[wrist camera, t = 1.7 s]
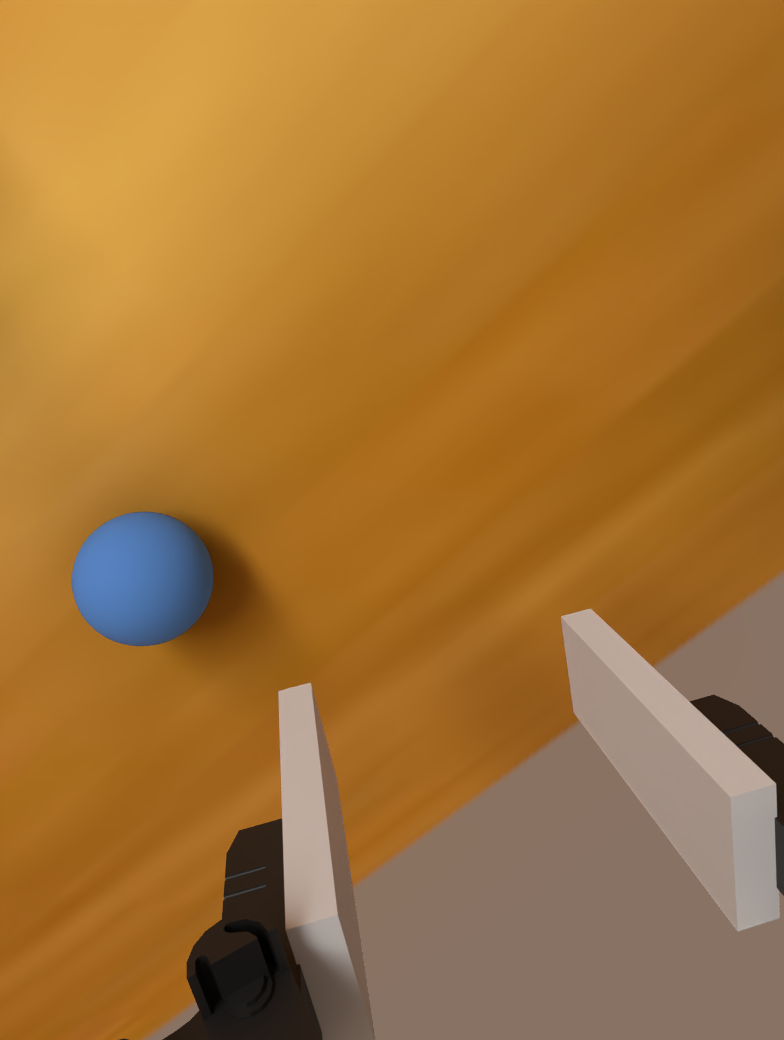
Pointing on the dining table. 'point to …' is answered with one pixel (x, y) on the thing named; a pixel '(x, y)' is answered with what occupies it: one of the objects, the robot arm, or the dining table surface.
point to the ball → (142, 578)
